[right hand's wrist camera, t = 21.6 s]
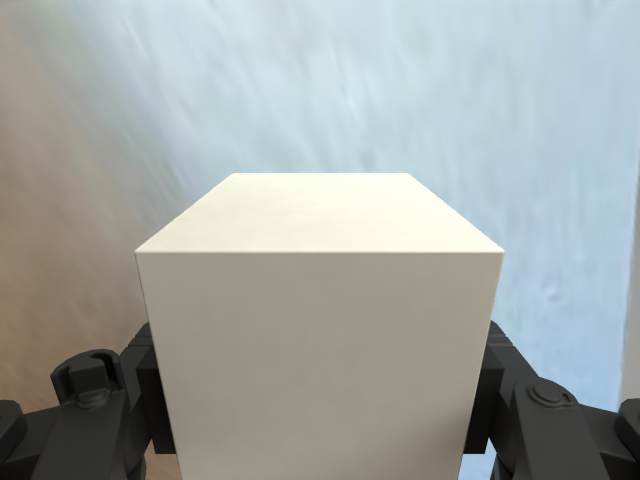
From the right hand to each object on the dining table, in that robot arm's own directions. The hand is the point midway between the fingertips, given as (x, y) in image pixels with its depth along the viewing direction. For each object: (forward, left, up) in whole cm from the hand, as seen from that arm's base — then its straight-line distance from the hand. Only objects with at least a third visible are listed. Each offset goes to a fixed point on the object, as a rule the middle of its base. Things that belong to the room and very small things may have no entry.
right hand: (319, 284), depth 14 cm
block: (0, 0, -1) cm, 1 cm away
